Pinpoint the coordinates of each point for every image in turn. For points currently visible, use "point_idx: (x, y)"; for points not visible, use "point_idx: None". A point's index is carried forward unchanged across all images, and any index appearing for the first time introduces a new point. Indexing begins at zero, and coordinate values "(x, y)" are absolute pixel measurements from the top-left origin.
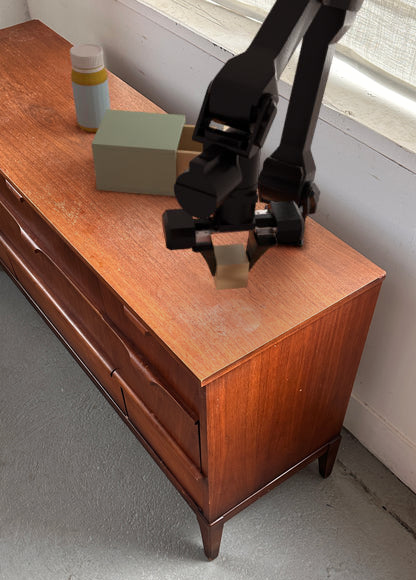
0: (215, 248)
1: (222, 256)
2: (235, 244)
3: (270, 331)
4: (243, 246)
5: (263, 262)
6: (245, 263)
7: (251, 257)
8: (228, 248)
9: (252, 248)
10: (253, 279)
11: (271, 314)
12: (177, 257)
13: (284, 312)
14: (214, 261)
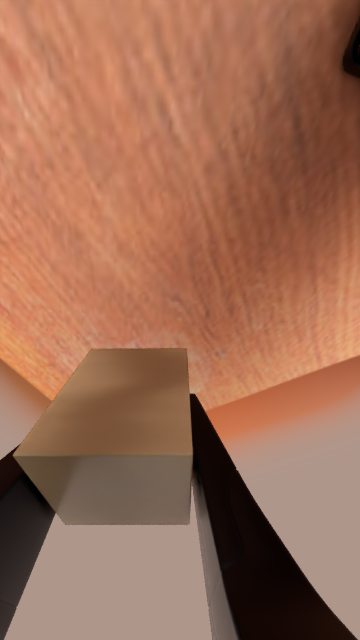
0: (34, 470)
1: (79, 500)
2: (146, 460)
3: (215, 401)
4: (188, 469)
5: (282, 199)
6: (174, 524)
7: (201, 552)
8: (106, 473)
9: (213, 619)
10: (228, 273)
11: (229, 372)
12: (3, 124)
13: (254, 370)
14: (39, 547)
